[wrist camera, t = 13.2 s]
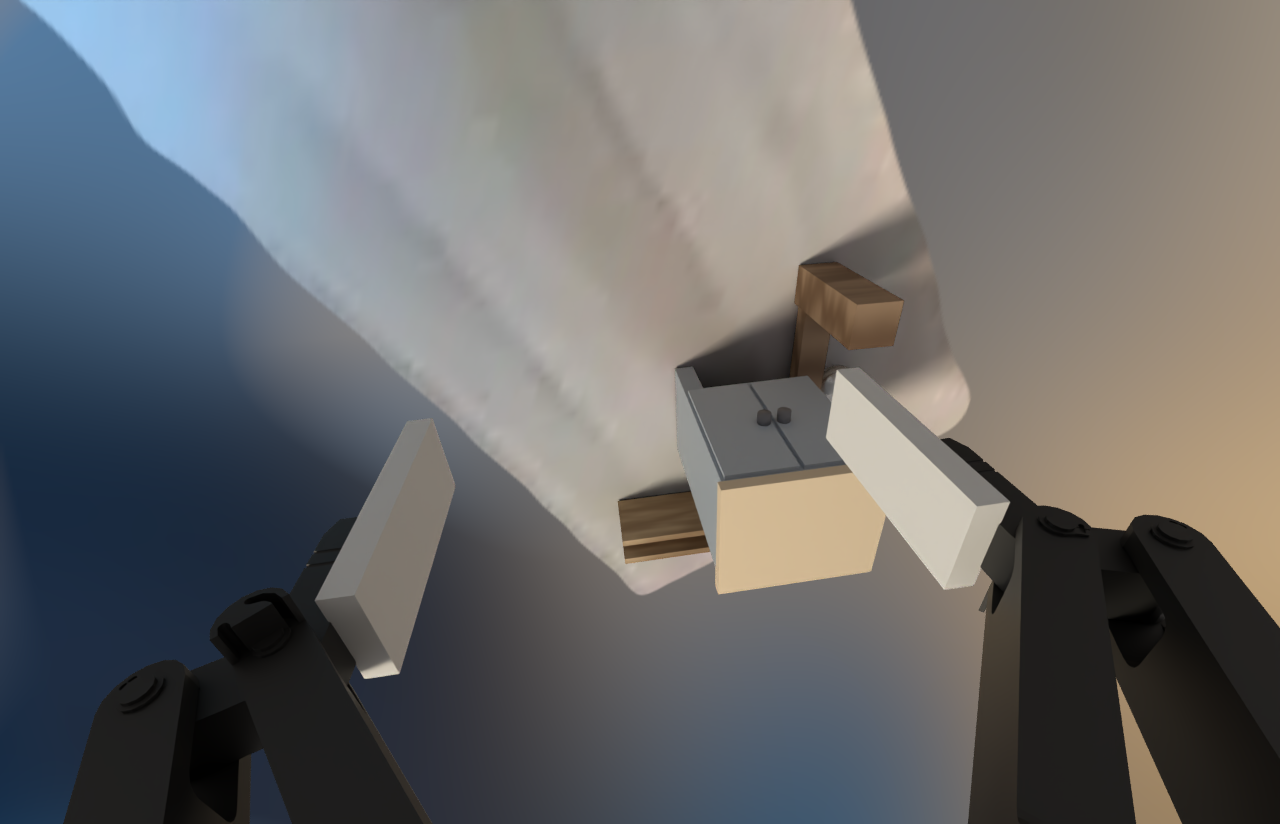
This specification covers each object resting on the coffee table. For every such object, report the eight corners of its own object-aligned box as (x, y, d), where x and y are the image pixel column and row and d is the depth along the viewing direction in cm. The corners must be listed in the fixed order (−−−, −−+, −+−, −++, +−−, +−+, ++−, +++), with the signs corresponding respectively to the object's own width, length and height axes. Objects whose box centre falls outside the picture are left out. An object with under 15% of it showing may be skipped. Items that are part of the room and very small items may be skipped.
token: (817, 366, 57) (823, 373, 56) (858, 364, 58) (865, 371, 56) (809, 403, 60) (815, 411, 58) (848, 401, 60) (855, 408, 59)
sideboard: (670, 357, 54) (721, 480, 36) (793, 343, 55) (901, 456, 37) (674, 451, 61) (718, 594, 43) (783, 437, 62) (870, 571, 44)
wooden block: (798, 265, 50) (857, 304, 40) (836, 262, 51) (904, 300, 40) (781, 407, 59) (825, 470, 49) (813, 404, 60) (864, 465, 49)
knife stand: (617, 501, 64) (622, 541, 58) (768, 480, 65) (788, 518, 59) (620, 522, 66) (625, 563, 60) (767, 502, 67) (786, 540, 61)
